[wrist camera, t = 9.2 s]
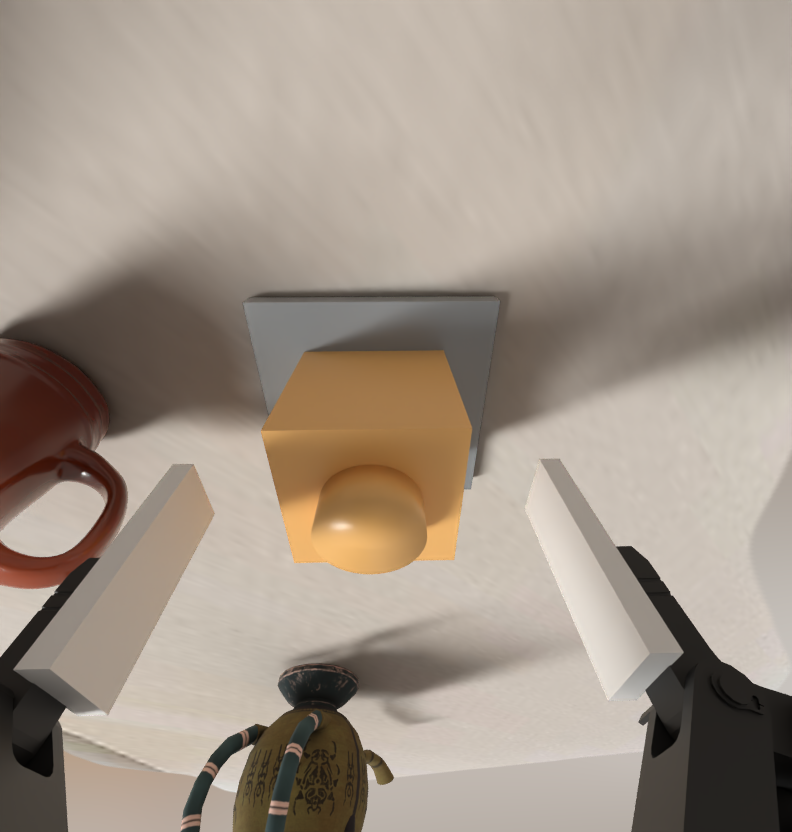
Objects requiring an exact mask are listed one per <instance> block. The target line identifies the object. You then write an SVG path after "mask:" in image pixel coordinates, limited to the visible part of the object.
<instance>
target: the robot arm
mask: <svg viewBox="0 0 792 832" xmlns="http://www.w3.org/2000/svg"><path fill="white" fill-rule="evenodd" d="M525 510H526V512H527V515H528V517H529V519H530V522H531V524H532V526H533V529H534V531H535V533H536V535H537V538H538V540H539V542H540V545H541V547H542V549H543V552H544V554H545V556H546V559H547V561H548V563H549V565H550V568H551V570H552V572H553V575H554V577H555V579H556V582H557V584H558V586H559V589H560V591H561V593H562V595H563V598H564V600H565V602H566V605H567V607H568V609H569V612H570V614H571V616H572V618H573V621H574V623H575V625H576V628H577V630H578V632H579V635H580V637H581V639H582V642H583V644H584V646H585V648H586V651H587V653H588V655H589V658H590V660H591V662H592V665H593V667H594V669H595V671H596V674H597V676H598V678H599V681H600V683H601V685H602V688H603V690H604V692H605V695H606V697H607V699H608V701H626V700H637V699H638V698H639V697H640V696H641V695H642V694H643V693H644V692H645V691H646V692H647V694H648V696H649V698H650V700H651V702H652V704H653V705H652V706H651V707H650V708H649V709H648V710H647V711H646V712H644V713H643V714H642V716H641V718H640V720H639V723H640V724H642V725H644V724H646V723H647V722H648V727H647V733H646V740H645V746H644V753H643V760H642V766H641V772H640V779H639V786H638V792H637V799H636V805H635V812H634V818H633V825H632V831H631V832H792V696H789V695H786V694H782V693H780V692H776V691H773V690H770V689H767V688H764V687H761V686H758V685H756V684H753V683H752V682H751V681H750V680H749V679H748V678H747V677H746V676H745V675H744V674H742V673H741V672H739V671H738V670H736V669H735V668H734V667H732V666H731V665H728V664H726V663H723V662H721V661H720V660H719V659H718V658H717V656H716V655H715V654H714V653H713V651H712V650H711V649H710V648H709V646H708V645H707V643H706V642H705V641H704V639H703V638H702V636H701V635H700V633H699V632H698V631H697V629H696V628H695V626H694V625H693V624H692V622H691V621H690V619H689V618H688V616H687V615H686V614H685V612H684V611H683V609H682V608H681V606H680V605H679V604H678V602H677V601H676V599H675V598H674V597H673V596H671V594H670V591H669V589H668V588H667V587H666V585H665V584H664V582H663V581H661V580H660V577H659V575H658V574H657V572H656V571H655V570H654V568H653V567H652V565H651V564H650V563H649V561H648V560H647V559H646V558H644V557H643V556H642V555H641V554H640V553H639V552H637V551H636V550H635V549H634V548H633V547H632V546H620V547H616V546H615V545H614V543H613V541H612V540H611V538H610V537H609V535H608V534H607V532H606V531H605V529H604V527H603V526H602V524H601V523H600V521H599V520H598V518H597V517H596V515H595V513H594V512H593V510H592V509H591V507H590V506H589V504H588V503H587V501H586V499H585V498H584V496H583V495H582V493H581V492H580V490H579V489H578V487H577V485H576V484H575V482H574V481H573V479H572V478H571V476H570V475H569V473H568V471H567V470H566V468H565V467H564V465H563V464H562V462H561V461H560V459H539V463H538V466H537V469H536V473H535V476H534V479H533V483H532V486H531V490H530V493H529V496H528V500H527V503H526V506H525ZM213 516H214V511H213V509H212V507H211V504H210V502H209V499H208V497H207V495H206V492H205V490H204V488H203V485H202V483H201V481H200V478H199V476H198V473H197V471H196V469H195V466H194V464H173V465H172V466H171V468H170V469H169V470H168V471H167V473H166V474H165V475H164V477H163V478H162V479H161V480H160V482H159V483H158V484H157V486H156V487H155V488H154V489H153V491H152V492H151V493H150V495H149V496H148V497H147V498H146V500H145V501H144V502H143V504H142V505H141V506H140V507H139V509H138V510H137V511H136V513H135V514H134V515H133V516H132V518H131V519H130V520H129V522H128V523H127V524H126V525H125V527H124V528H123V529H122V531H121V532H120V533H119V534H118V536H117V537H116V538H115V540H114V541H113V542H112V543H111V545H110V546H109V547H108V549H107V550H106V551H105V552H104V554H103V555H102V556H101V558H88V559H87V560H86V561H85V562H83V563H82V564H81V565H80V566H78V567H77V568H76V569H75V570H73V571H72V572H71V573H70V574H69V575H68V576H67V577H66V578H65V580H64V581H63V582H62V583H61V585H60V586H59V587H58V588H57V589H56V591H55V594H54V595H51V597H50V598H49V599H48V600H47V601H46V603H45V604H44V605H43V606H42V610H41V611H38V612H37V614H36V615H35V616H34V617H33V618H32V620H31V621H30V622H29V623H28V624H27V626H26V627H25V628H24V629H23V630H22V632H21V633H20V634H19V635H18V637H17V638H16V639H15V640H14V641H13V643H12V644H11V645H10V646H9V647H8V649H7V650H6V651H5V652H4V653H3V655H2V656H1V657H0V832H68V826H67V807H66V790H65V773H64V757H63V739H62V728H61V725H60V723H59V721H58V720H59V718H60V716H61V715H62V713H63V712H64V710H65V708H67V709H69V710H70V711H71V712H73V713H74V714H76V715H77V716H96V715H108V714H109V712H110V710H111V708H112V706H113V705H114V703H115V701H116V699H117V697H118V695H119V693H120V691H121V690H122V688H123V686H124V684H125V682H126V680H127V678H128V676H129V674H130V673H131V671H132V669H133V667H134V665H135V663H136V661H137V659H138V657H139V656H140V654H141V652H142V650H143V648H144V646H145V644H146V642H147V641H148V639H149V637H150V635H151V633H152V631H153V629H154V627H155V625H156V624H157V622H158V620H159V618H160V616H161V614H162V612H163V610H164V609H165V607H166V605H167V603H168V601H169V599H170V597H171V595H172V593H173V592H174V590H175V588H176V586H177V584H178V582H179V580H180V578H181V576H182V575H183V573H184V571H185V569H186V567H187V565H188V563H189V561H190V560H191V558H192V556H193V554H194V552H195V550H196V548H197V546H198V544H199V543H200V541H201V539H202V537H203V535H204V533H205V531H206V529H207V528H208V526H209V524H210V522H211V520H212V518H213Z"/></svg>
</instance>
